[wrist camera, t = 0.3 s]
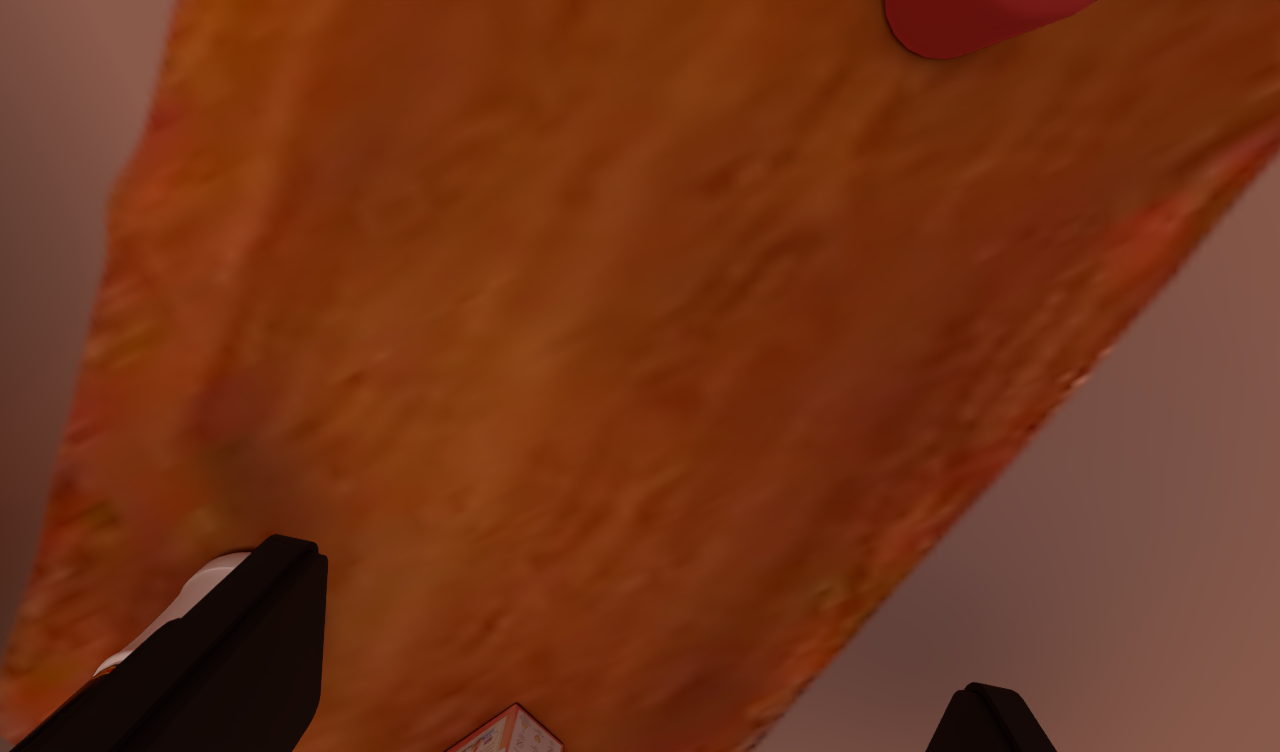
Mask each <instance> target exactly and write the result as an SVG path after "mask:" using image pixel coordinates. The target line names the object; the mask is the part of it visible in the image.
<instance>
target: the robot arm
mask: <svg viewBox="0 0 1280 752" xmlns="http://www.w3.org/2000/svg"><path fill="white" fill-rule="evenodd" d="M327 574H328V559H327V556H325V555H321V554H319V552H318V546H317V544H316V543H314V542H311V541H307V540H302V539H297V538H292V537H288V536H283V535H278V534H275V535H271V536H270V537H268V538H267V539H266V540H265V541H264V542H263V543H261V544H260V545H259V546H258V547H257V548H256V549H255V550H254V551H253V552H252V553H251V554H250V555H248V556H247V557H246V558H245V559H244V560H243V561H242V562H241V563H240V564H239V565H238V566H237V567H236V568H234V569H233V570H232V571H231V572H230V573H229V574H228V575H227V576H226V577H225V578H224V579H223V580H222V581H220V582H219V583H218V584H217V585H216V586H215V587H214V588H213V589H212V590H211V591H210V592H209V593H208V594H206V595H205V596H204V597H203V598H202V599H201V600H200V601H199V602H198V603H197V604H196V605H195V606H194V607H192V608H191V609H190V610H189V611H188V612H187V613H186V614H185V615H184V616H183V617H182V618H176V619H174V620H171V621H168V622H167V623H165V624H164V625H163V626H161V627H160V628H159V629H157V630H156V631H155V632H154V633H153V634H152V635H150V636H149V637H148V638H147V639H146V640H145V641H144V642H143V643H142V644H140V645H139V646H138V647H137V648H136V649H135V650H134V651H133V652H132V653H131V654H129V655H128V656H127V657H126V658H125V659H124V660H123V661H122V662H121V663H120V664H118V665H117V666H116V667H115V668H114V669H113V670H112V671H111V672H110V673H108V674H107V675H106V676H105V677H104V678H103V679H102V680H101V681H100V682H99V683H97V684H96V685H95V686H94V687H93V688H92V689H91V690H90V691H89V692H88V693H86V694H85V695H84V696H83V697H82V698H81V699H80V700H79V701H78V702H77V703H75V704H74V705H73V706H72V707H71V708H70V709H69V710H68V711H67V712H65V713H64V714H63V715H62V716H61V717H60V718H59V719H58V720H57V721H56V722H54V723H53V724H52V725H51V726H50V727H49V728H48V729H47V730H46V731H45V732H43V733H42V734H41V735H40V736H39V737H38V738H37V739H36V740H35V741H33V742H32V743H31V744H30V745H29V746H28V747H27V748H26V749H25V750H24V751H22V752H292V751H293V749H294V748H295V746H296V745H297V743H298V742H299V740H300V738H301V737H302V735H303V734H304V732H305V731H306V729H307V728H308V726H309V724H310V723H311V721H312V719H313V717H314V715H315V713H316V710H317V707H318V704H319V700H320V694H321V678H322V660H323V643H324V626H325V608H326V591H327ZM925 752H1057V751H1056V749H1055V748H1054V746H1053V745H1052V743H1051V742H1050V740H1049V739H1048V737H1047V735H1046V734H1045V732H1044V731H1043V729H1042V728H1041V726H1040V725H1039V723H1038V722H1037V720H1036V719H1035V717H1034V715H1033V714H1032V712H1031V711H1030V709H1029V708H1028V706H1027V705H1026V703H1025V701H1024V700H1023V699H1022V697H1020V695H1019V694H1018V693H1016V692H1015V691H1013V690H1010V689H1005V688H1001V687H996V686H991V685H986V684H982V683H975V682H972V683H970V684H969V685H967V686H966V688H965V689H964V690H958V691H957V692H955V694H954V695H953V697H952V699H951V701H950V703H949V705H948V707H947V709H946V711H945V713H944V715H943V717H942V719H941V721H940V723H939V725H938V727H937V729H936V731H935V733H934V735H933V737H932V739H931V741H930V743H929V745H928V747H927V750H926V751H925Z"/></svg>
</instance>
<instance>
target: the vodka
mask: <svg viewBox="0 0 1280 752" xmlns="http://www.w3.org/2000/svg"><path fill="white" fill-rule="evenodd" d="M251 553H252V552H238V553H232V554H229V555H225V556H222V557H218V558H216V559H214V560H212V561H210V562H209V563H207V564H206V565H205V566H204V567H202V568H201V569H200V570H199V571H198V572H197V573H196V574H195V575H194V576H193V577H192V578H191V579H190V580H189V581H188V582H187V583H186V584H185V585H184V587H183V588H182V590H181V592H180V594H179V596H178V597H177V598H176V599H175V600H174V601H173V602H172V604H171V605H170V606H169V607H168V608H167V609H166V610H165V611H164V612H163V613H162V614H161V615H160V616H159V617H158V618H157V619H156V620H155V621H154V622H153V623H152V624H151V625H150V626H149V627H148V628H147V629H146V630H145V631H144V632H143V633H142V634H141V635H140V636H139V637H137V638H136V639H135V640H134V641H132V642H131V643H130V644H129V645H128V646H126V647H125V648H124V649H123V650H121V651H120V652H119V653H117V654H115V655H113V656H111V657H110V658H108V659H107V660H106V661H104V662H103V663H102V664H101V665H100V667H99V668H98V669H97V671H96V673H95V674H94V676H93V678H92V679H90V680H89V681H88V682H87V683H86V684H85V685H84V686H82V687H81V688H80V689H79V690H78V691H77V692H76V693H75V694H73V695H72V696H71V697H70V698H69V699H68V700H67V701H66V702H64V703H63V704H62V705H61V706H60V707H59V708H58V709H57V710H55V711H54V712H53V713H52V714H51V715H50V716H49V717H48V718H46V719H45V720H44V721H43V722H42V723H41V724H40V725H38V726H37V727H36V728H35V729H34V730H33V731H32V732H31V733H29V734H28V735H27V736H26V737H25V738H24V739H23V740H22V741H20V742H19V743H18V744H17V745H16V746H15V747H14V748H13V749H11V750H10V751H9V752H22V751H24V750H25V749H26V748H27V747H28V746H29V745H30V744H31V743H32V742H33V741H35V740H36V739H37V738H38V737H39V736H40V735H41V734H42V733H43V732H45V731H46V730H47V729H48V728H49V727H50V726H51V725H52V724H53V723H54V722H56V721H57V720H58V719H59V718H60V717H61V716H62V715H63V714H64V713H65V712H67V711H68V710H69V709H70V708H71V707H72V706H73V705H74V704H75V703H77V702H78V701H79V700H80V699H81V698H82V697H83V696H84V695H85V694H86V693H88V692H89V691H90V690H91V689H92V688H93V687H94V686H95V685H96V684H97V683H99V682H100V681H101V680H102V679H103V678H104V677H105V676H106V675H107V674H108V673H110V672H111V671H112V670H113V669H114V668H115V667H116V666H117V665H118V664H120V663H121V662H122V661H123V660H124V659H125V658H126V657H127V656H128V655H129V654H131V653H132V652H133V651H134V650H135V649H136V648H137V647H138V646H139V645H140V644H142V643H143V642H144V641H145V640H146V639H147V638H148V637H149V636H150V635H152V634H153V633H154V632H155V631H156V630H157V629H159V628H160V627H161V626H163V625H164V624H165V623H167V622H168V621H171V620H174V619H176V618H182V617H183V616H184V615H185V614H186V613H187V612H188V611H189V610H190V609H191V608H192V607H194V606H195V605H196V604H197V603H198V602H199V601H200V600H201V599H202V598H203V597H204V596H205V595H206V594H208V593H209V592H210V591H211V590H212V589H213V588H214V587H215V586H216V585H217V584H218V583H219V582H220V581H222V580H223V579H224V578H225V577H226V576H227V575H228V574H229V573H230V572H231V571H232V570H233V569H234V568H236V567H237V566H238V565H239V564H240V563H241V562H242V561H243V560H244V559H245V558H246V557H247V556H248V555H250V554H251Z"/></svg>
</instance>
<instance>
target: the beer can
mask: <svg viewBox="0 0 1280 752" xmlns="http://www.w3.org/2000/svg"><path fill="white" fill-rule="evenodd" d="M1095 1H1097V0H885V10H886V17H887V19H888V21H889V23H890V26H891V28H892V30H893V33H894V35H895V36H896V37H897V38H898V39H899V40H900V41H901V42H902V43H903V44H904V46H905V47H906V48H907V49H909V50H911V51H913V52H915V53H917V54H919V55H921V56H923V57H925V58H934V59H950V58H954V57H958V56H962V55H966V54H969V53H971V52H974V51H977V50H979V49H982V48H985V47H988V46H990V45H993V44H996V43H998V42H1001V41H1004V40H1007V39H1009V38H1012V37H1015V36H1017V35H1020V34H1023V33H1026V32H1028V31H1031V30H1034V29H1037V28H1039V27H1042V26H1045V25H1047V24H1050V23H1053V22H1056V21H1058V20H1061V19H1064V18H1066V17H1069V16H1072V15H1073V14H1075V13H1077V12H1078V11H1080V10H1082V9H1083V8H1085V7H1087V6H1088V5H1090V4H1092V3H1094V2H1095Z"/></svg>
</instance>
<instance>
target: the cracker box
mask: <svg viewBox="0 0 1280 752" xmlns="http://www.w3.org/2000/svg"><path fill="white" fill-rule="evenodd" d="M562 751H563V744H562V743H560V742H559V741H558V740H557V739H556V738H555V737H553V736H552V735H551V734H550V733H549V732H548V731H547V730H546V729H545V728H543V727H542V726H541V725H540V724H539V723H538V722H537V721H536V720H534V719H533V718H532V717H531V716H530V715H529V714H528V713H526V712H525V711H524V710H523V709H522V708H521V707H520V706H518V705H517V704H515V705H513V706H512V707H510V708H509V709H507V710H506V711H504V712H503V713H501V714H500V715H499V716H497V717H496V718H494V719H493V720H491V721H490V722H488V723H487V724H485V725H484V726H482V727H481V728H480V729H478V730H477V731H475V732H474V733H472V734H471V735H469V736H468V737H467V738H465V739H464V740H462V741H461V742H459V743H458V744H456V745H455V746H454V747H452V748H450V749H449V750H448V751H446V752H562Z"/></svg>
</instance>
